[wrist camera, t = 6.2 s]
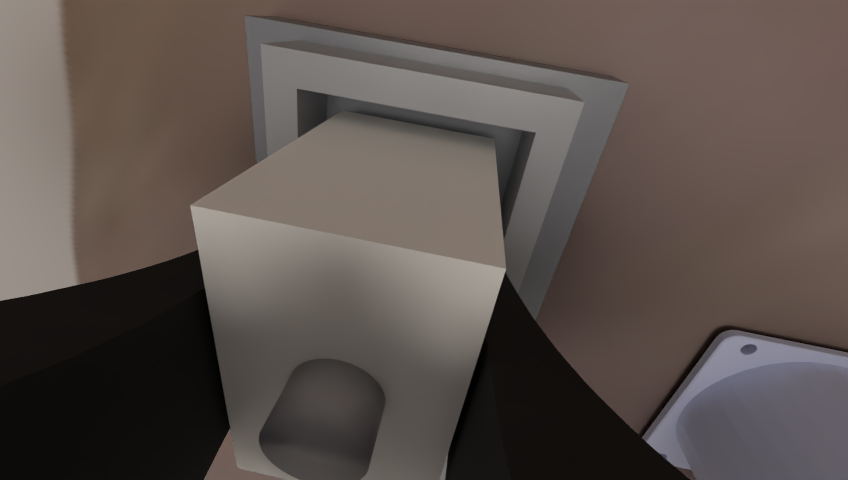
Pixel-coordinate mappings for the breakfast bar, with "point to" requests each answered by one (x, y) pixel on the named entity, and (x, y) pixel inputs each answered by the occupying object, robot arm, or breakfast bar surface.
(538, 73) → the grey compartment holder
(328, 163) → the plug
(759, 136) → the breakfast bar surface
